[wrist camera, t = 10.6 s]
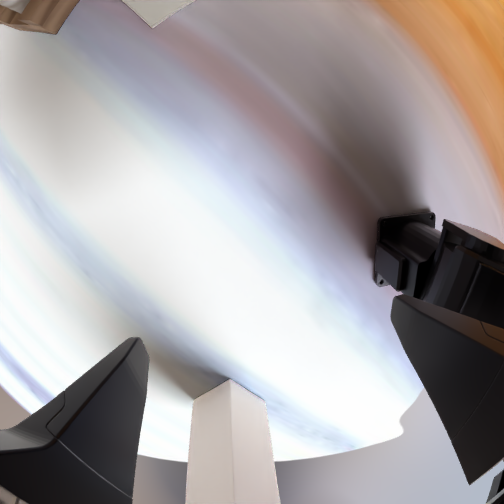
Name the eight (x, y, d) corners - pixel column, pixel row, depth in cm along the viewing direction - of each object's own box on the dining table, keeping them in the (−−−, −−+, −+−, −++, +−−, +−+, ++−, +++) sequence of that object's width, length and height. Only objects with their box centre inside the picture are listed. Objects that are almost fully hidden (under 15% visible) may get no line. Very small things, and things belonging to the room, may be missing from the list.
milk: (265, 400, 29) (294, 576, 8) (228, 419, 30) (238, 578, 9) (229, 377, 27) (241, 584, 6) (191, 399, 28) (183, 578, 7)
